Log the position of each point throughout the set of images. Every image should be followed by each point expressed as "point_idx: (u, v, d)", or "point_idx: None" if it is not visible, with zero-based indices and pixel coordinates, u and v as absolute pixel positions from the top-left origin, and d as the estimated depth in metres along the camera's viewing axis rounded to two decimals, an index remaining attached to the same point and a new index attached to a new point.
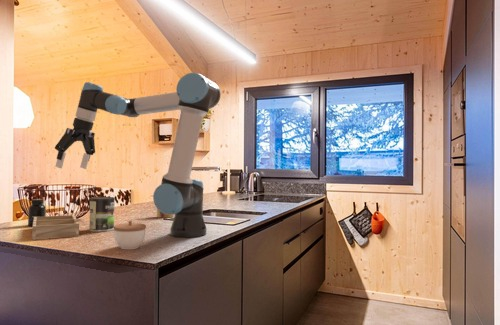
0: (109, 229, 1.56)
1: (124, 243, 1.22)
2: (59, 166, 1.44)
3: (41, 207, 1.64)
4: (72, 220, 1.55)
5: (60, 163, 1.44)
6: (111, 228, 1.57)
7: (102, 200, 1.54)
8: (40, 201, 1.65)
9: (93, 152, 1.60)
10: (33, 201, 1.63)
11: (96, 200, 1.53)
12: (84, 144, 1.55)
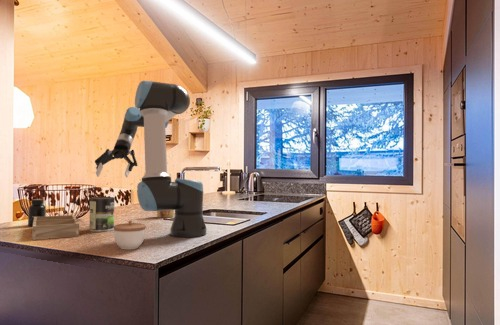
0: (109, 229, 1.56)
1: (124, 243, 1.22)
2: None
3: (41, 207, 1.64)
4: (72, 220, 1.55)
5: None
6: (111, 228, 1.57)
7: (102, 200, 1.54)
8: (40, 201, 1.65)
9: (134, 162, 1.74)
10: (33, 201, 1.63)
11: (96, 200, 1.53)
12: (126, 159, 1.77)
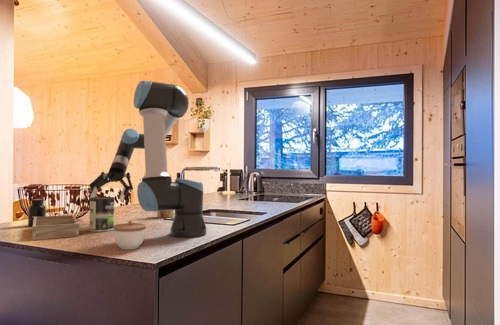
0: (109, 229, 1.56)
1: (124, 243, 1.22)
2: None
3: (41, 207, 1.64)
4: (72, 220, 1.55)
5: None
6: (111, 228, 1.57)
7: (102, 200, 1.54)
8: (40, 201, 1.65)
9: (129, 186, 1.69)
10: (33, 201, 1.63)
11: (96, 200, 1.53)
12: (121, 183, 1.72)
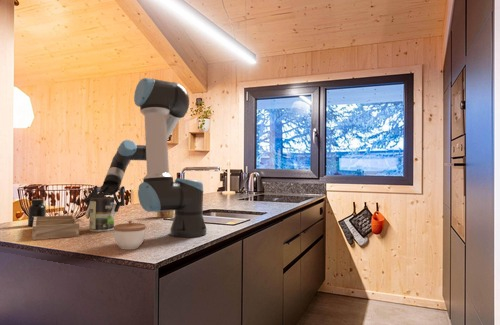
0: (109, 229, 1.56)
1: (124, 243, 1.22)
2: None
3: (41, 207, 1.64)
4: (72, 220, 1.55)
5: None
6: (111, 228, 1.57)
7: (102, 200, 1.54)
8: (40, 201, 1.65)
9: (121, 201, 1.60)
10: (33, 201, 1.63)
11: (96, 200, 1.53)
12: (114, 197, 1.63)
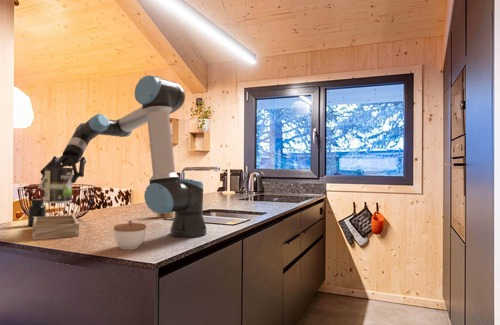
0: (65, 201, 1.45)
1: (124, 243, 1.22)
2: None
3: (41, 207, 1.64)
4: (72, 220, 1.55)
5: None
6: (68, 200, 1.46)
7: (57, 169, 1.43)
8: (40, 201, 1.65)
9: (79, 172, 1.49)
10: (33, 201, 1.63)
11: (50, 169, 1.42)
12: None
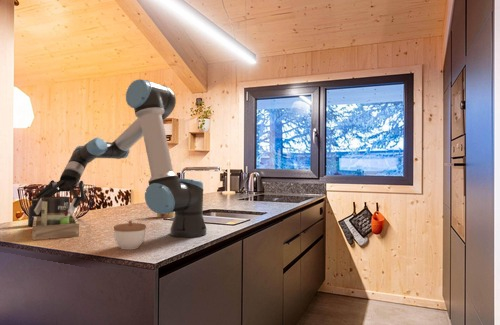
0: None
1: (124, 243, 1.22)
2: None
3: None
4: (72, 220, 1.55)
5: None
6: None
7: (54, 200, 1.42)
8: None
9: (81, 196, 1.48)
10: (33, 201, 1.63)
11: (47, 200, 1.41)
12: None
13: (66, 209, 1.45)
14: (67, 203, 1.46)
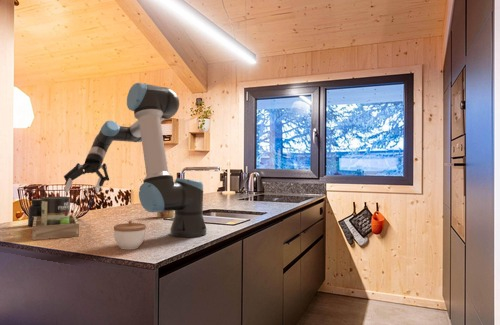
0: None
1: (124, 243, 1.22)
2: None
3: (41, 207, 1.64)
4: (72, 220, 1.55)
5: None
6: None
7: (54, 200, 1.42)
8: (40, 201, 1.65)
9: (105, 176, 1.65)
10: (33, 201, 1.63)
11: (47, 200, 1.41)
12: (97, 174, 1.68)
13: (66, 209, 1.45)
14: (67, 203, 1.46)
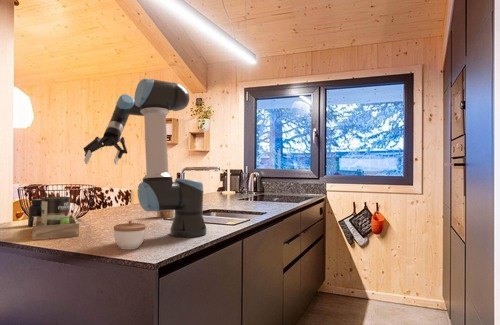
0: None
1: (124, 243, 1.22)
2: None
3: (41, 207, 1.64)
4: (72, 220, 1.55)
5: None
6: None
7: (54, 200, 1.42)
8: (40, 201, 1.65)
9: (124, 149, 1.69)
10: (33, 201, 1.63)
11: (47, 200, 1.41)
12: (115, 147, 1.72)
13: (66, 209, 1.45)
14: (67, 203, 1.46)
